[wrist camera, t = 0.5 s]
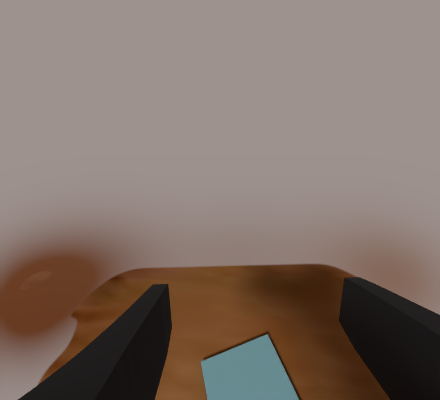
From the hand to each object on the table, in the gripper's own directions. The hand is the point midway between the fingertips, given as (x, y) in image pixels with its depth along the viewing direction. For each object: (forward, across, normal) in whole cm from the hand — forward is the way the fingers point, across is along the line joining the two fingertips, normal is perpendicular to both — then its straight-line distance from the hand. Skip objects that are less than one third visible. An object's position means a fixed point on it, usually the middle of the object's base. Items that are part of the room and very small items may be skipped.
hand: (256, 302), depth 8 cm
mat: (+8, -1, +17) cm, 19 cm away
